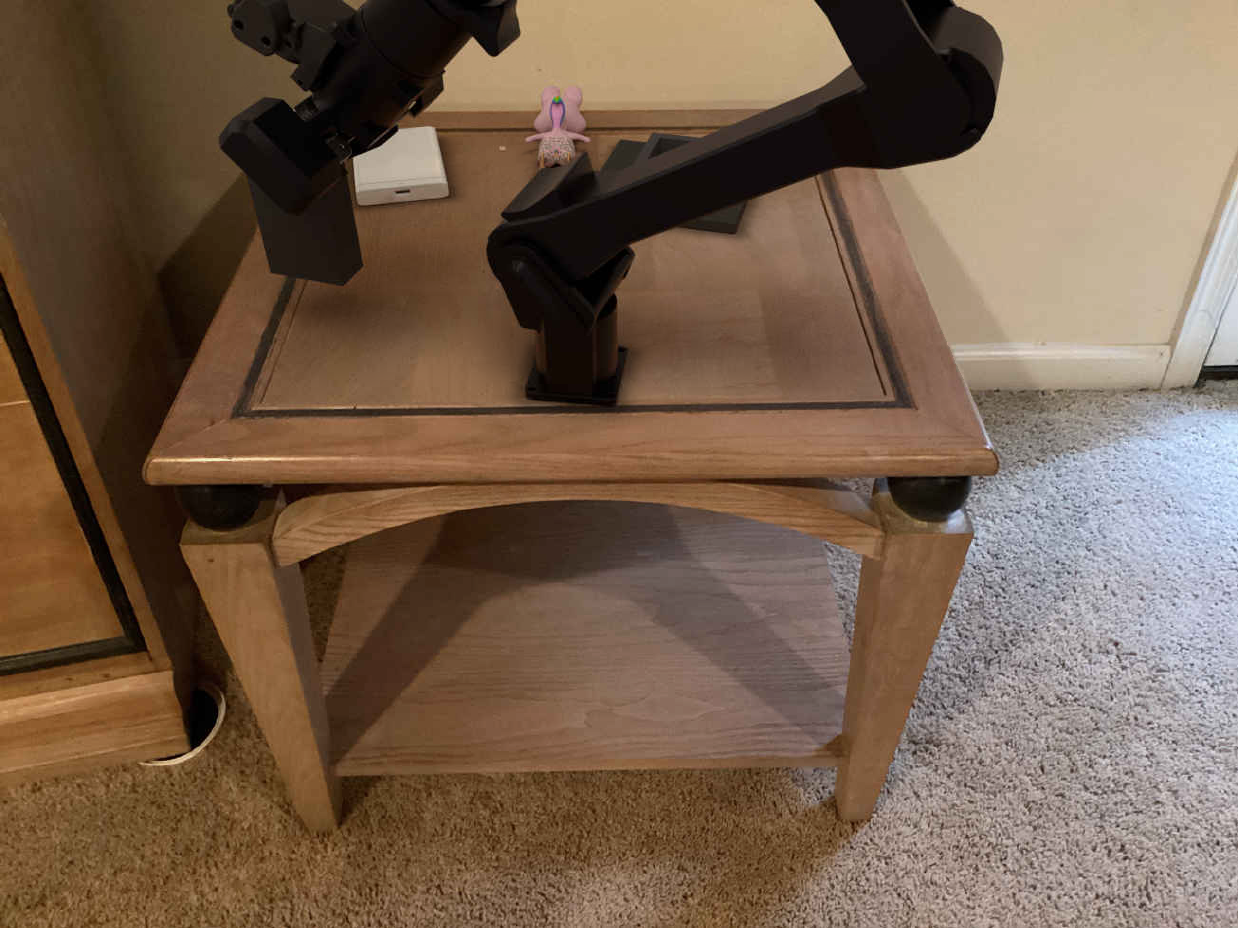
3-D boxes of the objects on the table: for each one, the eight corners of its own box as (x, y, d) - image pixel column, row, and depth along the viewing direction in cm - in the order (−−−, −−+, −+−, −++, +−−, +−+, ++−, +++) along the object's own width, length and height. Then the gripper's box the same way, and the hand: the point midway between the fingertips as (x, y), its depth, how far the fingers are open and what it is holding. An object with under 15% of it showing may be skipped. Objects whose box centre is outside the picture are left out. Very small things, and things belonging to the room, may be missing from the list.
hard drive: (350, 133, 104) (354, 189, 95) (435, 125, 105) (447, 180, 96) (353, 149, 105) (358, 206, 96) (436, 141, 106) (449, 197, 97)
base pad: (761, 165, 102) (764, 134, 100) (734, 234, 92) (737, 202, 90) (620, 148, 105) (620, 119, 103) (578, 214, 95) (577, 182, 93)
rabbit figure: (589, 189, 101) (594, 102, 111) (587, 134, 96) (593, 48, 106) (523, 189, 101) (534, 102, 111) (518, 133, 97) (530, 47, 106)
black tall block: (292, 253, 80) (257, 102, 72) (364, 266, 78) (336, 113, 71) (270, 273, 77) (232, 119, 70) (343, 287, 76) (312, 131, 68)
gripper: (379, -112, 68) (267, 44, 78) (205, -27, 55) (96, 148, 65) (501, 27, 72) (379, 160, 81) (365, 139, 58) (238, 282, 68)
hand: (281, 182), depth 74 cm, fingers closed on black tall block, 3 cm apart
